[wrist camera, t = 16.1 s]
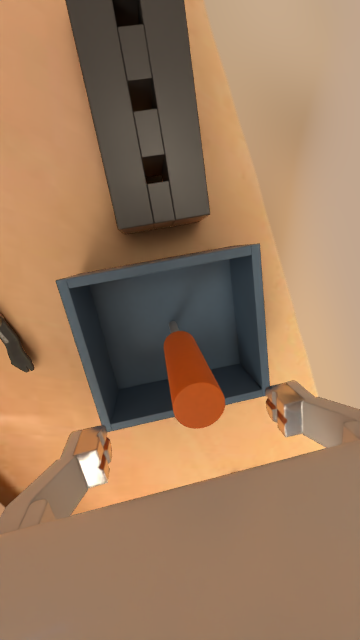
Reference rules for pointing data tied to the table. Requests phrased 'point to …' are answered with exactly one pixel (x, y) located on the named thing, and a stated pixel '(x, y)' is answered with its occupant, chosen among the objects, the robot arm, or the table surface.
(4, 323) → the tomahawk
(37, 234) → the table surface
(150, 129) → the caddy
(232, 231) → the table surface
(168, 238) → the table surface
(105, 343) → the bin
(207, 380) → the orange screwdriver
